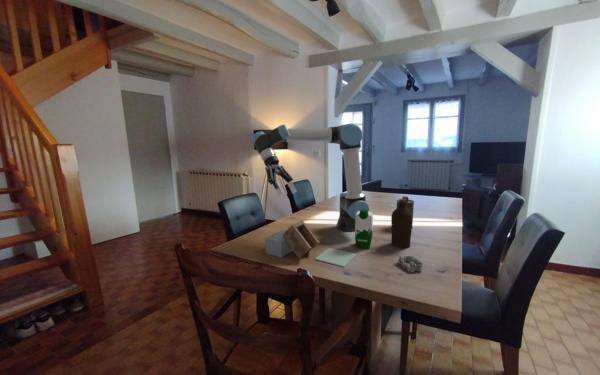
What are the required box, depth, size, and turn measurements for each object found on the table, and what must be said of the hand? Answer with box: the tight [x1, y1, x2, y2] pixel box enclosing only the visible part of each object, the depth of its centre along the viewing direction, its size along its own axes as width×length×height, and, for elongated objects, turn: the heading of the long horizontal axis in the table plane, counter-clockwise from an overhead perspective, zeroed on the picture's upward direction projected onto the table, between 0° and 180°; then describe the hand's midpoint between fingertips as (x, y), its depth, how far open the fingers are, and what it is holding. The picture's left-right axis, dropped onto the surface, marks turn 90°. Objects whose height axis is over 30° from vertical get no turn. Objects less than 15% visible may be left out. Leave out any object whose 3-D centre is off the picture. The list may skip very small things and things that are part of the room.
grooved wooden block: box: [282, 220, 320, 259], centre depth 132 cm, size 16×9×16 cm, turn 57°
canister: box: [396, 195, 415, 229], centre depth 171 cm, size 11×10×20 cm
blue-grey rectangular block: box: [264, 228, 294, 258], centre depth 139 cm, size 10×16×8 cm, turn 147°
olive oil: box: [390, 198, 414, 249], centre depth 142 cm, size 11×11×25 cm
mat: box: [314, 247, 358, 268], centre depth 130 cm, size 15×15×1 cm
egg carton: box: [396, 254, 425, 273], centre depth 119 cm, size 11×8×4 cm
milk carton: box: [354, 209, 374, 250], centre depth 142 cm, size 9×9×20 cm
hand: (288, 193), depth 137 cm, fingers open, 13 cm apart
